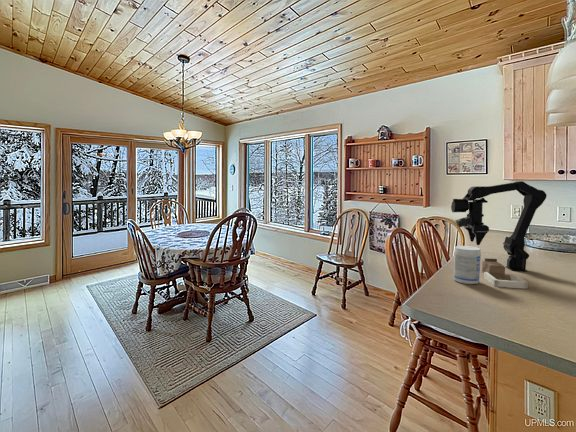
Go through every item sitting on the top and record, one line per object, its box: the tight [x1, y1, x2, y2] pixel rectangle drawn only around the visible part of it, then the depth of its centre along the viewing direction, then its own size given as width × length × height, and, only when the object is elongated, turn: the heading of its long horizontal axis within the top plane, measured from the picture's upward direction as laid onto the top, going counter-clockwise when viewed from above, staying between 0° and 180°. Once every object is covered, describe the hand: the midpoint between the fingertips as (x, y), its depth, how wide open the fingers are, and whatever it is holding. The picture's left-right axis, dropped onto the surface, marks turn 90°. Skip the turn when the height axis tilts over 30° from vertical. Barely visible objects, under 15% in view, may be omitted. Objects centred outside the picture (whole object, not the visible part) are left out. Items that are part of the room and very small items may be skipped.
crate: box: [481, 258, 506, 279], centre depth 137 cm, size 9×6×7 cm, turn 164°
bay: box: [483, 272, 529, 290], centre depth 125 cm, size 12×11×2 cm
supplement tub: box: [453, 245, 481, 285], centre depth 127 cm, size 10×10×15 cm
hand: (474, 243), depth 147 cm, fingers open, 9 cm apart
